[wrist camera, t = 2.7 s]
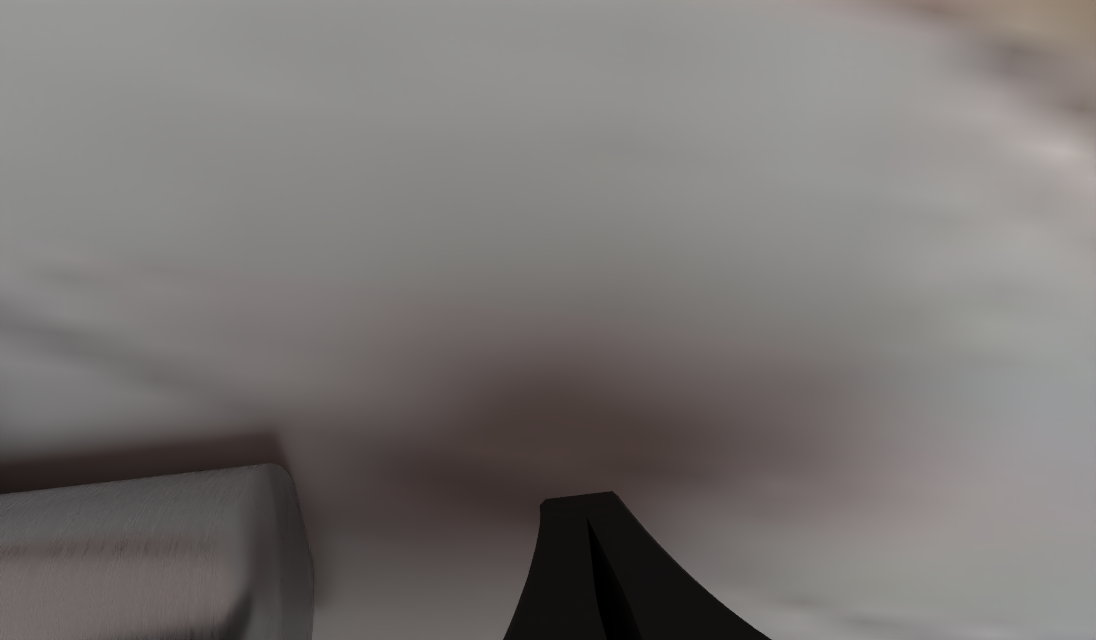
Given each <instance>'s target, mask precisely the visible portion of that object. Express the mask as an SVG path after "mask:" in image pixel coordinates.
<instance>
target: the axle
mask: <svg viewBox="0 0 1096 640" xmlns="http://www.w3.org/2000/svg"><path fill="white" fill-rule="evenodd" d="M313 614H314V574H313V560H312V556H311V552H310V548H309V543H308V539H307V535H306V531H305V526H304V522H303V518H302V514H301V509H300V505H299V501H298V497H297V492H296V488H295V484H294V482H293V480H292V478H291V477H290V475H289V474H288V473H287V472H286V471H285V469H284V468H282V467H281V466H279V465H278V464H274V463H267V464H258V465H249V466H241V467H232V468H223V469H215V470H206V471H197V472H189V473H180V474H171V475H163V476H154V477H146V478H137V479H128V480H120V481H111V482H102V483H94V484H85V485H76V486H68V487H59V488H50V489H42V490H33V491H24V492H16V493H7V494H0V640H312V629H313Z"/></svg>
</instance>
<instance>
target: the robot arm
mask: <svg viewBox="0 0 1096 640" xmlns="http://www.w3.org/2000/svg"><path fill="white" fill-rule="evenodd" d="M503 640H771V639H770V638H768V637H767V636H765V635H764V634H762V633H761V632H759V631H758V630H756V629H755V628H754V627H752V626H751V625H749V624H748V623H747V622H745V621H744V620H743V619H742V618H740V617H739V616H738V615H736V614H735V613H734V612H732V611H731V610H730V609H728V608H727V607H726V606H725V605H724V604H722V603H721V602H720V601H719V600H717V599H716V598H715V597H714V596H713V595H712V594H710V593H709V592H708V591H707V590H706V589H705V588H704V587H702V586H701V585H700V584H699V583H698V582H697V581H696V580H695V579H694V578H692V577H691V576H690V575H689V574H688V573H687V572H686V571H685V570H684V569H683V568H682V567H681V566H680V565H679V564H678V563H677V562H676V561H675V560H674V559H673V558H672V557H671V556H670V555H669V554H668V553H667V552H666V551H665V550H664V549H663V548H662V547H661V546H660V545H659V544H658V543H657V542H656V541H655V540H654V539H653V537H652V536H651V535H650V534H649V533H648V532H647V531H646V530H645V528H644V527H643V526H642V525H641V524H640V523H639V522H638V520H637V519H636V518H635V517H634V516H633V514H632V513H631V512H630V511H629V510H628V508H627V507H626V506H625V504H624V503H623V502H622V501H621V499H620V498H619V497H618V496H617V495H616V494H615V493H614V492H612V491H610V492H601V493H593V494H585V495H577V496H568V497H560V498H552V499H545V500H544V501H543V503H542V504H541V505H540V526H539V533H538V538H537V543H536V548H535V552H534V556H533V559H532V563H531V567H530V570H529V574H528V577H527V580H526V583H525V586H524V589H523V592H522V594H521V597H520V600H519V603H518V605H517V608H516V611H515V613H514V616H513V618H512V621H511V623H510V625H509V628H508V630H507V632H506V635H505V637H504V639H503Z"/></svg>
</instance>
